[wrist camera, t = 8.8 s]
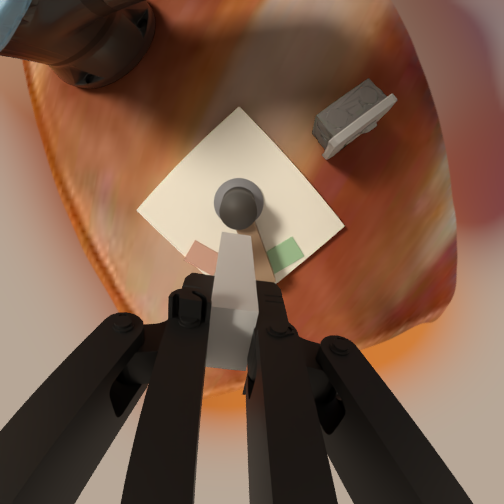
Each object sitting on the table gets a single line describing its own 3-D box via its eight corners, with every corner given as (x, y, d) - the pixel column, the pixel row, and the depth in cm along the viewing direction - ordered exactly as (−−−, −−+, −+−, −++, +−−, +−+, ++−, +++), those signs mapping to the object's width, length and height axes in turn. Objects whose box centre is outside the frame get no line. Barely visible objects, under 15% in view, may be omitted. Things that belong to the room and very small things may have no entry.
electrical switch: (324, 161, 34) (345, 161, 26) (298, 129, 33) (311, 118, 24) (376, 121, 32) (409, 111, 24) (352, 89, 31) (379, 71, 22)
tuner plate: (137, 210, 36) (133, 213, 34) (239, 107, 32) (238, 106, 30) (241, 306, 42) (241, 312, 40) (341, 223, 38) (345, 226, 36)
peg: (217, 193, 34) (213, 201, 30) (248, 181, 34) (249, 188, 30) (255, 288, 39) (256, 305, 35) (283, 278, 39) (288, 295, 35)
